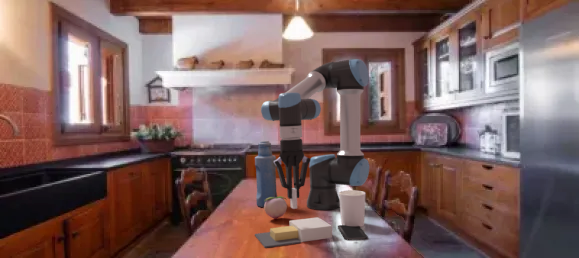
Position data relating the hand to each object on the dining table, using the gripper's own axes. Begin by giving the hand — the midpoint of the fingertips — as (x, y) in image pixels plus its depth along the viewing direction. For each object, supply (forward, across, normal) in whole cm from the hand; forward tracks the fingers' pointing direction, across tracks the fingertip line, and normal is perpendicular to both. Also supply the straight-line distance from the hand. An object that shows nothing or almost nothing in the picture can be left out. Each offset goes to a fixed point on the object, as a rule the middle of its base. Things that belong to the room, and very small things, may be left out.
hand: (293, 207), depth 131 cm
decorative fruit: (+10, 0, +24) cm, 26 cm away
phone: (+11, +19, -4) cm, 23 cm away
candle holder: (+11, +24, +4) cm, 27 cm away
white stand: (+10, +5, 0) cm, 11 cm away
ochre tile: (+9, -4, 0) cm, 10 cm away
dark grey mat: (+10, -7, 0) cm, 12 cm away
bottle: (+11, +3, +50) cm, 51 cm away
